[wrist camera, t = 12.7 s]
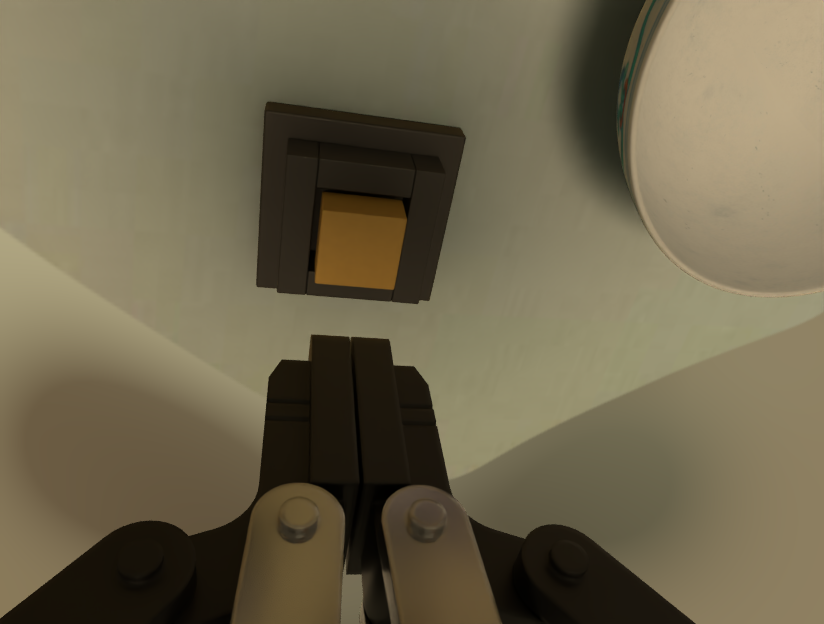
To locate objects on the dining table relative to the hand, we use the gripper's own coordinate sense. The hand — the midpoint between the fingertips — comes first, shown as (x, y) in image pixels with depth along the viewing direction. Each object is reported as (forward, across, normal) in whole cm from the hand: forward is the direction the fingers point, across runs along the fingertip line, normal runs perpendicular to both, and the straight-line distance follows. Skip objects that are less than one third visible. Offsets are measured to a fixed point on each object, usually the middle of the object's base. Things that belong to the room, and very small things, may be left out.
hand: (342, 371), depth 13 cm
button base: (+16, -2, +4) cm, 17 cm away
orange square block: (+14, -1, +4) cm, 14 cm away
